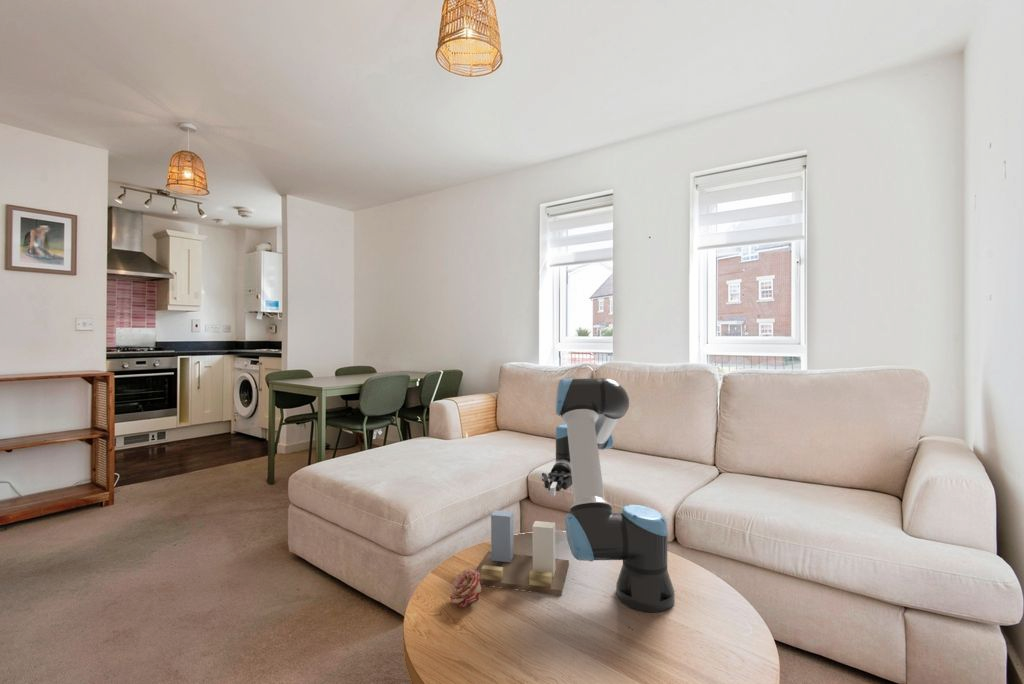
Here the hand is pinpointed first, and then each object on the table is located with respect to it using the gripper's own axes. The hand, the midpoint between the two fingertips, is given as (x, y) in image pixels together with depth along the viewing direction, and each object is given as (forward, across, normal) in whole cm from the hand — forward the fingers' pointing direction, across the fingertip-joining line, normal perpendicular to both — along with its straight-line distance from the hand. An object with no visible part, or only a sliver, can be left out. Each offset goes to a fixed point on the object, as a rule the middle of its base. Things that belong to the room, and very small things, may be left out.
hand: (552, 492), depth 148 cm
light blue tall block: (+10, +14, -18) cm, 25 cm away
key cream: (+16, 0, -18) cm, 24 cm away
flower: (+32, +18, -21) cm, 42 cm away
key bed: (+15, +7, -20) cm, 26 cm away
